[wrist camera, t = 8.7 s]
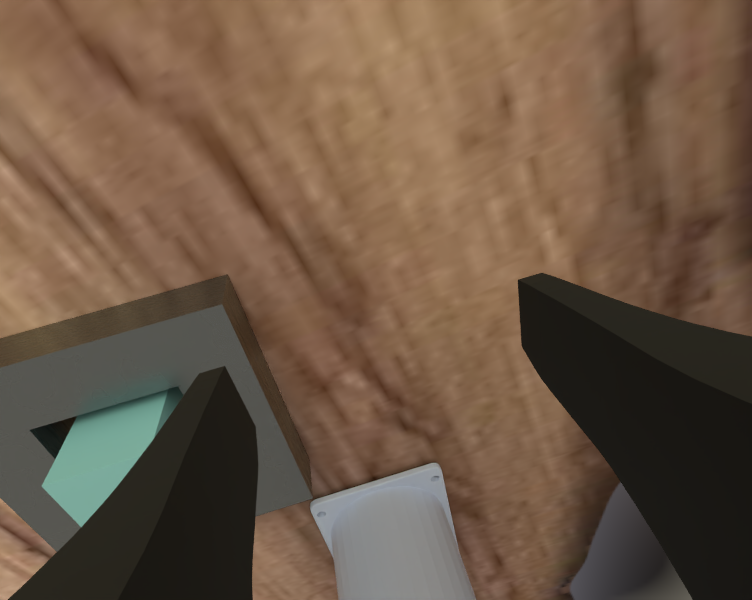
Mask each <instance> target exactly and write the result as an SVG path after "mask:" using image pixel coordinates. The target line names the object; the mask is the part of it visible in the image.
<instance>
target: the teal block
mask: <svg viewBox="0 0 752 600" xmlns="http://www.w3.org/2000/svg"><path fill="white" fill-rule="evenodd" d="M182 397H183V394H182V392H181V391H180V389H179V387H178V386H177V387H174V388H170V389H167V390H163V391H160V392H157V393H153V394H150V395H146V396H143V397H140V398H136V399H133V400H129V401H126V402H123V403H119V404H116V405H112V406H109V407H106V408H102V409H99V410H95V411H92V412H89V413H85V414H82V415H78V416H77V418H76V420H75V422H74V424H73V426H72V428H71V430H70V431H69V433H68V435H67V437H66V439H65V441H64V443H63V445H62V447H61V449H60V451H59V453H58V455H57V457H56V459H55V461H54V463H53V465H52V467H51V469H50V471H49V473H48V475H47V477H46V478H45V480H44V482H43V484H42V487H43V488H44V489H45V490H46V491H47V493H48V494H49V495H50V496H51V497H52V498H53V499H54V500H55V501H56V502H57V503H58V504H59V505H60V506H61V507H62V508H63V509H64V510H65V511H66V512H67V513H68V514H69V515H70V516H71V517H72V518H73V519H74V520H75V521H76V522H77V523H78V525H79V526H80V527H82V526H83V525H84V524H85V523H86V521H87V520H88V519H89V518H90V517H91V516H92V515H93V514H94V513H95V511H96V510H97V509H98V508H99V507H100V506H101V505H102V504H103V502H104V501H105V500H106V499H107V498H108V497H109V495H110V494H111V493H112V492H113V491H114V490H115V488H116V487H117V486H118V485H119V483H120V482H121V481H122V480H123V478H124V477H125V476H126V474H127V473H128V472H129V471H130V469H131V468H132V467H133V465H134V464H135V463H136V461H137V460H138V459H139V457H140V456H141V455H142V454H143V452H144V451H145V450H146V448H147V447H148V446H149V444H150V443H151V442H152V440H153V439H154V438H155V436H156V435H157V433H158V432H159V430H160V429H161V428H162V426H163V425H164V423H165V422H166V420H167V419H168V418H169V416H170V415H171V413H172V412H173V410H174V409H175V407H176V406H177V404H178V403H179V402H180V400H181V399H182Z"/></svg>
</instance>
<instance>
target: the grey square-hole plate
mask: <svg viewBox="0 0 752 600" xmlns="http://www.w3.org/2000/svg"><path fill="white" fill-rule="evenodd" d="M222 366H225V367H226V369H227V371H228V373H229V375H230V377H231V379H232V381H233V383H234V384H235V386H236V388H237V390H238V392H239V394H240V396H241V398H242V400H243V402H244V404H245V406H246V408H247V410H248V412H249V414H250V416H251V418H252V420H253V422H254V424H255V426H256V436H257V448H258V484H257V500H256V515H255V516H258V515H261V514H265V513H268V512H271V511H274V510H277V509H281V508H284V507H287V506H290V505H293V504H297V503H300V502H303V501H306V500H309V499H313V495H312V483H311V472H310V460H309V458H308V455H307V453H306V451H305V449H304V446H303V444H302V442H301V440H300V437H299V435H298V433H297V431H296V428H295V426H294V424H293V422H292V419H291V417H290V415H289V412H288V410H287V408H286V406H285V403H284V401H283V399H282V397H281V394H280V392H279V390H278V388H277V385H276V383H275V381H274V378H273V376H272V374H271V372H270V369H269V367H268V365H267V363H266V360H265V358H264V356H263V354H262V351H261V349H260V347H259V345H258V342H257V340H256V338H255V335H254V333H253V331H252V329H251V326H250V324H249V322H248V320H247V317H246V315H245V313H244V311H243V308H242V306H241V304H240V302H239V299H238V297H237V295H236V292H235V290H234V288H233V286H232V283H231V281H230V279H229V277H228V275H224V276H221V277H217V278H213V279H210V280H206V281H203V282H199V283H196V284H192V285H189V286H185V287H182V288H178V289H174V290H171V291H167V292H164V293H160V294H157V295H153V296H150V297H146V298H143V299H139V300H136V301H132V302H128V303H125V304H121V305H118V306H114V307H111V308H107V309H104V310H100V311H97V312H93V313H90V314H86V315H82V316H79V317H75V318H72V319H68V320H65V321H61V322H58V323H54V324H51V325H47V326H44V327H40V328H36V329H33V330H29V331H26V332H22V333H19V334H15V335H12V336H8V337H5V338H1V339H0V498H1V499H2V500H3V501H4V502H5V503H6V504H7V505H8V506H9V507H10V508H12V509H13V510H14V511H15V512H16V513H17V514H18V515H19V516H20V517H21V518H22V519H23V520H24V521H25V522H26V523H27V524H28V525H29V526H30V527H31V528H33V529H34V530H35V531H36V532H37V533H38V534H39V535H40V536H41V537H42V538H43V539H44V540H45V541H46V542H47V543H48V544H49V545H50V546H51V547H52V548H53V549H55V550H56V551H57V552H58V551H59V550H60V549H61V548H62V547H63V546H64V545H65V544H66V543H67V542H68V541H69V540H70V539H71V538H72V537H73V536H74V534H75V533H76V532H77V531H78V530H79V529H80V528H81V527H80V526H79V525H78V523H77V522H76V521H75V520H74V519H73V518H72V517H71V516H70V515H69V514H68V513H67V512H66V511H65V510H64V509H63V508H62V507H61V506H60V505H59V504H58V503H57V502H56V501H55V500H54V499H53V498H52V497H51V496H50V495H49V494H48V493H47V491H46V490H45V489H44V488H43V487H42V484H43V482H44V480H45V478H46V477H47V475H48V473H49V471H50V469H51V467H52V465H53V463H54V461H55V459H56V457H57V455H58V453H59V451H60V449H61V447H62V445H63V443H64V441H65V439H66V437H67V435H68V433H69V431H70V430H71V428H72V426H73V424H74V422H75V420H76V418H77V417H76V416H78V415H82V414H85V413H89V412H92V411H95V410H99V409H102V408H106V407H109V406H112V405H116V404H119V403H123V402H126V401H129V400H133V399H136V398H140V397H143V396H146V395H150V394H153V393H157V392H160V391H163V390H167V389H170V388H174V387H177V386H178V387H179V389H180V391H181V392H182V394H183V396H184V394H185V393H186V391H187V390H188V388H189V387H190V385H191V384H192V383H193V381H194V380H195V378H196V377H197V376H198V374H199V373H202V372H205V371H209V370H212V369H216V368H219V367H222Z"/></svg>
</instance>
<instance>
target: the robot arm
mask: <svg viewBox="0 0 752 600" xmlns="http://www.w3.org/2000/svg"><path fill="white" fill-rule="evenodd" d="M518 291H519V308H520V324H521V341H522V347H523V349H524V351H525V353H526V354H527V356H528V358H529V359H530V361H531V363H532V365H533V366H534V368H535V369H536V371H537V373H538V374H539V376H540V377H541V379H542V380H543V382H544V383H545V384H546V385H547V387H548V388H549V389H550V391H551V392H552V393H553V394H554V396H555V397H556V398H557V399H558V401H559V402H560V403H561V404H562V406H563V407H564V408H565V409H566V410H567V412H568V413H569V414H570V415H571V417H572V418H573V419H574V420H575V422H576V423H577V424H578V425H579V427H580V428H581V429H582V430H583V431H584V433H585V434H586V435H587V436H588V438H589V439H590V440H591V441H592V443H593V444H594V445H595V446H596V447H597V449H598V450H599V451H600V453H601V454H602V455H603V457H604V458H605V459H606V461H607V462H608V463H609V465H610V466H611V468H612V469H613V471H614V472H615V474H616V475H617V477H618V478H619V480H620V481H621V483H622V484H623V486H624V487H625V489H626V491H627V492H628V494H629V495H630V497H631V498H632V500H633V501H634V503H635V504H636V506H637V507H638V509H639V511H640V512H641V514H642V515H643V517H644V519H645V520H646V522H647V524H648V525H649V527H650V528H651V530H652V532H653V533H654V535H655V536H656V538H657V539H658V541H659V543H660V544H661V546H662V548H663V549H664V551H665V553H666V555H667V556H668V558H669V560H670V561H671V563H672V565H673V566H674V568H675V570H676V572H677V573H678V575H679V577H680V578H681V580H682V582H683V583H684V585H685V587H686V588H687V590H688V592H689V594H690V595H691V597H692V599H693V600H752V337H751V336H746V335H741V334H736V333H731V332H727V331H723V330H718V329H714V328H710V327H706V326H702V325H697V324H693V323H689V322H686V321H682V320H678V319H675V318H671V317H668V316H665V315H662V314H658V313H655V312H652V311H649V310H645V309H642V308H639V307H636V306H633V305H630V304H627V303H624V302H622V301H619V300H616V299H613V298H610V297H608V296H605V295H602V294H599V293H597V292H594V291H591V290H589V289H586V288H583V287H581V286H578V285H575V284H573V283H570V282H567V281H565V280H562V279H559V278H556V277H553V276H550V275H547V274H544V273H540V274H536V275H533V276H529V277H526V278H523V279H519V280H518ZM257 484H258V448H257V436H256V426H255V424H254V422H253V420H252V418H251V416H250V414H249V412H248V410H247V408H246V406H245V404H244V402H243V400H242V398H241V396H240V394H239V392H238V390H237V388H236V386H235V384H234V383H233V381H232V379H231V377H230V375H229V373H228V371H227V369H226V367H225V366H222V367H219V368H216V369H212V370H209V371H205V372H202V373H199V374H198V376H197V377H196V378H195V380H194V381H193V383H192V384H191V385H190V387H189V388H188V390H187V391H186V393H185V394H184V396H183V397H182V399H181V400H180V402H179V403H178V404H177V406H176V407H175V409H174V410H173V412H172V413H171V415H170V416H169V418H168V419H167V420H166V422H165V423H164V425H163V426H162V428H161V429H160V430H159V432H158V433H157V435H156V436H155V438H154V439H153V440H152V442H151V443H150V444H149V446H148V447H147V448H146V450H145V451H144V452H143V454H142V455H141V456H140V457H139V459H138V460H137V461H136V463H135V464H134V465H133V467H132V468H131V469H130V471H129V472H128V473H127V474H126V476H125V477H124V478H123V480H122V481H121V482H120V483H119V485H118V486H117V487H116V488H115V490H114V491H113V492H112V493H111V494H110V495H109V497H108V498H107V499H106V500H105V501H104V502H103V504H102V505H101V506H100V507H99V508H98V509H97V510H96V511H95V513H94V514H93V515H92V516H91V517H90V518H89V519H88V520H87V521H86V523H85V524H84V525H83V526H82V527H81V528H80V529H79V530H78V531H77V532H76V533H75V534H74V536H73V537H72V538H71V539H70V540H69V541H68V542H67V543H66V544H65V545H64V546H63V547H62V548H61V549H60V550H59V551H58V552H57V553H56V554H55V555H54V556H53V557H52V558H51V559H50V560H49V561H48V562H47V563H46V564H45V565H44V566H43V567H42V568H40V569H39V570H38V571H37V572H36V573H35V574H34V575H33V576H32V577H31V578H30V579H29V580H28V581H27V582H26V583H25V584H24V585H23V586H22V587H21V588H20V589H19V590H18V591H17V592H16V593H14V594H13V595H12V596H11V597H10V598H9V599H8V600H253V598H252V559H253V545H254V530H255V515H256V500H257ZM310 510H311V513H312V515H313V517H314V519H315V521H316V523H317V525H318V528H319V530H320V532H321V534H322V536H323V538H324V540H325V542H326V544H327V546H328V548H329V550H330V552H331V554H332V557H333V559H334V565H335V574H336V582H337V591H338V599H339V600H476V597H475V594H474V591H473V589H472V586H471V583H470V580H469V577H468V575H467V572H466V569H465V566H464V564H463V561H462V558H461V555H460V553H459V550H458V544H457V539H456V535H455V530H454V525H453V521H452V516H451V512H450V507H449V502H448V498H447V493H446V488H445V484H444V479H443V474H442V470H441V467H440V465H439V464H437V463H430V464H427V465H423V466H420V467H417V468H414V469H411V470H407V471H404V472H401V473H398V474H395V475H391V476H388V477H385V478H382V479H379V480H375V481H372V482H369V483H366V484H363V485H359V486H356V487H353V488H350V489H347V490H343V491H340V492H337V493H334V494H331V495H327V496H324V497H321V498H318V499H315V500H313V501H312V502H311V504H310Z"/></svg>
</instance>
